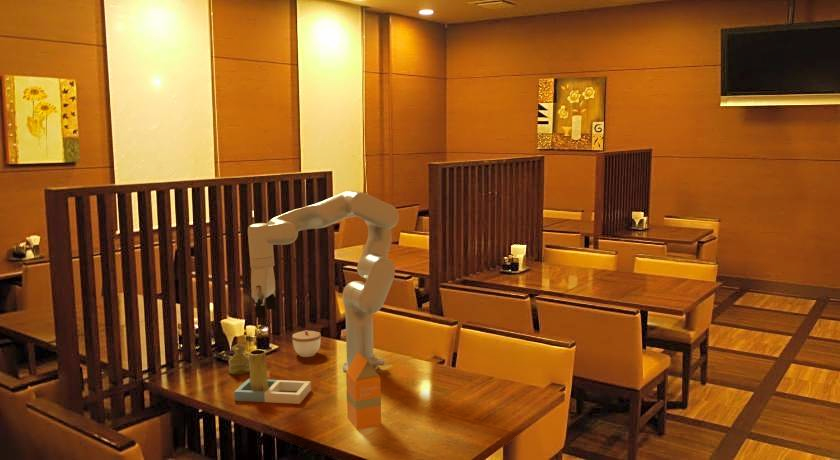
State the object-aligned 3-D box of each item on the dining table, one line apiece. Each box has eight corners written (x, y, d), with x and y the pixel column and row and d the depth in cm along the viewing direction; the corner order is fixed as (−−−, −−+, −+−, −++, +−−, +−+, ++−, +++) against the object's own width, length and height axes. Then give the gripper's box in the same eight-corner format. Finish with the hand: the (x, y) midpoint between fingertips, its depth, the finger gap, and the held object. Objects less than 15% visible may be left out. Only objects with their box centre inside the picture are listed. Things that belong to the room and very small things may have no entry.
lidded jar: (308, 360, 260) (307, 336, 259) (287, 356, 266) (286, 332, 265) (327, 352, 269) (326, 329, 268) (306, 348, 275) (305, 325, 274)
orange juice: (356, 429, 201) (354, 362, 198) (347, 418, 209) (345, 353, 206) (382, 424, 204) (380, 358, 201) (371, 413, 212) (370, 349, 209)
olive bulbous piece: (255, 370, 251) (253, 343, 250) (239, 376, 245) (237, 348, 243) (240, 366, 255) (239, 340, 254) (224, 372, 249) (223, 345, 247)
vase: (264, 398, 225) (261, 355, 223) (246, 397, 226) (244, 354, 224) (272, 391, 231) (270, 349, 228) (254, 390, 232) (252, 348, 230)
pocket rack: (310, 390, 231) (310, 381, 231) (299, 403, 220) (299, 394, 220) (248, 387, 235) (248, 378, 234) (234, 400, 223) (234, 391, 223)
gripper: (260, 256, 236) (264, 305, 238) (240, 268, 219) (245, 321, 221) (282, 256, 234) (286, 305, 237) (263, 267, 218) (268, 321, 220)
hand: (266, 313), depth 229 cm, fingers open, 9 cm apart
